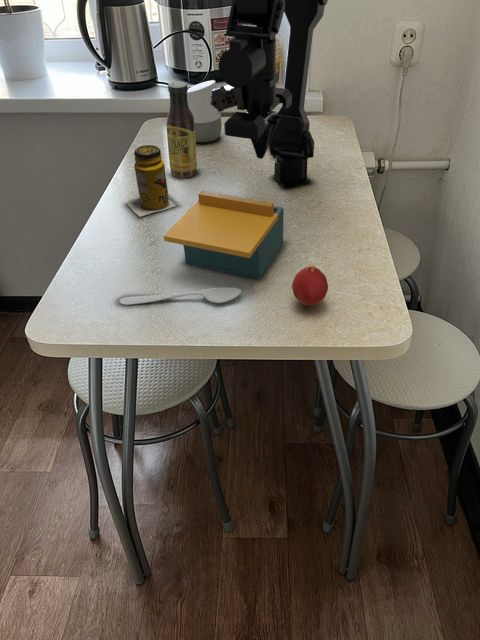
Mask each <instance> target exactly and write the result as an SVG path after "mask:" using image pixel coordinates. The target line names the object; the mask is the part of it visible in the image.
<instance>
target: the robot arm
mask: <svg viewBox="0 0 480 640" xmlns="http://www.w3.org/2000/svg"><path fill="white" fill-rule="evenodd" d="M328 1H329V0H231V5H230V6H231V7H230V9H229V10H230V11H229V16H228V22H227V25H226V31H225V35H226V37H230V39H229V41H228V48H227V49H226V50H225V51H223V53H222V54H221V56H220V58H219V61H218V73H219V75H220V78H221V79H222V80H223V82H225V83H226V85H224V86H223V85H221V86H219V87H216V88H215V89H214V90H212V95H211V96H210V97H211V105H212V106H214V108H216V109H217V110H218V112H220V113H221V112H224V111H225V110H227V109H231V108H234V107H236V110H238V111H235V112H234V113H233V114H232V115H231V116H230V117H229V118H228V119H227V120H226V121H225V122H224V124H223V127H224V136H226V137H233V138H241V139H248V140H250V141H251V144H252V148H253V149H254V153H255V155H256V158H257V159H260V160H263V159H264V158H265V155H266V153H267V151H268V148H269V153H270V156H273V155H276V157H275V158H276V159H275V161H274V174H273V175H272V179H273V180H275V181H276V182H278V184H279V185H281V186H282V187H283V188H284V189H289V188H294V187H297V186H301V185H305V184H306V185H307V184H310V183H311V179H310V178H309V177H308V160H309V159H311V158H314V154H315V139H314V138H313V135H312V133H311V132H310V120H309V117H308V115H307V113H306V110H305V102H306V93H307V87H308V86H307V85H308V76H309V69H310V59H311V52H312V45H313V43H312V42H313V35H314V30H315V28H316V27H317V25H318V24H319V23H320V21H321V20H322V19H323V16H324V12H325V7H326V5H327V4H328ZM284 16H285V18H286V20H287V23H288V25H289V33H288V34H289V35H288V43H287V52H286V62H285V72H284V81H283V88H282V87H277V82H279V81H280V73H279V72H277V70H276V69H277V63H276V62H277V38H276V36H277V35H278V34H279V32H280V28H281V26H282V25H281V24H282V21H283V17H284ZM231 37H232V38H231ZM280 104H281V106H280V108H279V109H278V110H277V112H276V113H275V111H274V110H275V109H276V107H278V105H280ZM240 111H241V112H240ZM242 111H246V112H242Z"/></svg>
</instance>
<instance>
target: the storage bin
mask: <svg viewBox="0 0 480 640" xmlns="http://www.w3.org/2000/svg"><path fill="white" fill-rule="evenodd" d="M284 211H285V210H284V207H281V206H275V205H274V213H276V214H278V220H277V221H276V223H275V224H274V225H273V227H272V228H271V230H270V231H269V232H268V234H267V235H266V236H265V238H264V239H263V241H262V242H261V243H260V245H259V246H258V247H257V249H256V250H255V251H254V253H253V254H252V256H251V257H250V258H246V257H241V256H236V255H231V254H226V253H221V252H216V251H212V250H207V249H202V248H197V247H192V246H187V245H183V253H184V262H185V264H186V265H193V266H196V267H201V268H206V269H210V270H216V271H219V272H225V273H229V274H235V275H239V276H244V277H249V278H253V279H257V280H259V279H261V277H262V276H263V275H264V273H265V271H266V270H267V268H268V267H269V265H270V264H271V262H272V261H273V259H274V258H275V256H276V255H277V253H278V252H279V250H280V249H281V247H282V246H283V244H284Z"/></svg>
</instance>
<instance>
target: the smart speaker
mask: <svg viewBox="0 0 480 640" xmlns="http://www.w3.org/2000/svg"><path fill="white" fill-rule="evenodd" d="M215 88H217V83H216V80H215V79H212V80H207V81H203V82H200V83H197V84H195V85H192V86H190V87H188V91H187V102H188V107H189V109H190V110H191V112H192V114H193V117H194V128H195V140H196V143H197V144H198V143H199V144H208V143H212V142H214V141H216V140H218V139H219V138H220V136H221V133H222V129H223V128H222V114H221V112H218V110H217V109H216V108H214V106H212V105H211V97H210V96H211V95H212V90H214V89H215Z"/></svg>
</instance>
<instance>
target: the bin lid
mask: <svg viewBox="0 0 480 640" xmlns="http://www.w3.org/2000/svg"><path fill="white" fill-rule="evenodd" d="M197 194H198V195H197V196H198V197H197V198H198V200H197V201H196V202H195V203H194V204H193V205H192V206H191V207H190V209H188V210H187V211H186V213H184V214H183V215H182V217H180V218H179V219H178V221H176V223H174V224H173V226H171V228H170V229H169V230H167V232H166V233H165V234H164V235H163V241H164V242H166V243H167V242H168V243H171V244H176V245H181V246H184V245H187V246H192V247H197V248H202V249H207V250H212V251H216V252H221V253H226V254H231V255H236V256H241V257H246V258H250V257H251V256H252V254H253V253H254V251H255V250H256V249H257V247H258V246H259V245H260V243H261V242H262V241H263V239H264V238H265V236H266V235H267V234H268V232H269V231H270V230H271V228H272V227H273V225H274V224H275V223H276V221H277V220H278V214H276V213H274V206H275V203H274V202H272V201H271V202H270V201H265V200H259V199H253V198H249V197H248V198H247V197H242V196H235V195H230V194H223V193H218V192H211V191H208V190H207V191H206V190H200V192H199V193H197Z"/></svg>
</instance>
